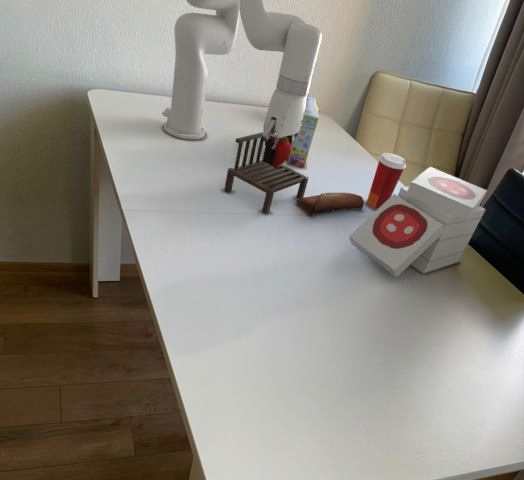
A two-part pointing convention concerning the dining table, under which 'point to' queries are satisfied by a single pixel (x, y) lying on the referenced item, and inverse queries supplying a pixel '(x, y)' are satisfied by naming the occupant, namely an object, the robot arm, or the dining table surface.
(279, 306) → the dining table surface
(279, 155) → the strawberry
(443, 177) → the pizza boxes
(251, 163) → the miniature wooden chair
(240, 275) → the dining table surface
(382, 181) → the paper cup
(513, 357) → the dining table surface
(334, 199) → the sunglasses case
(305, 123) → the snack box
